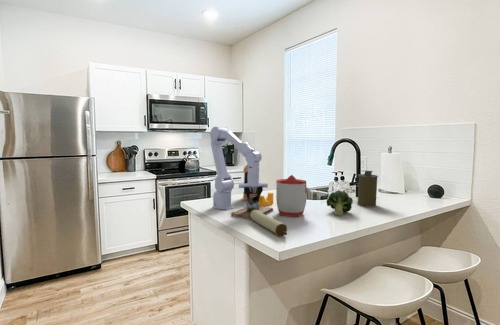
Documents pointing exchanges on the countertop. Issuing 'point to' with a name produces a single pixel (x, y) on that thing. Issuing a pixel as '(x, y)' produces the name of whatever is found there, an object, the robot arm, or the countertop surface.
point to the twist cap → (252, 203)
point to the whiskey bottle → (252, 190)
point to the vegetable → (340, 202)
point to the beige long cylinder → (268, 222)
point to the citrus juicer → (291, 196)
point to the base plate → (245, 214)
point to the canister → (367, 189)
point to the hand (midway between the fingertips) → (253, 201)
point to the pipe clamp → (266, 200)
